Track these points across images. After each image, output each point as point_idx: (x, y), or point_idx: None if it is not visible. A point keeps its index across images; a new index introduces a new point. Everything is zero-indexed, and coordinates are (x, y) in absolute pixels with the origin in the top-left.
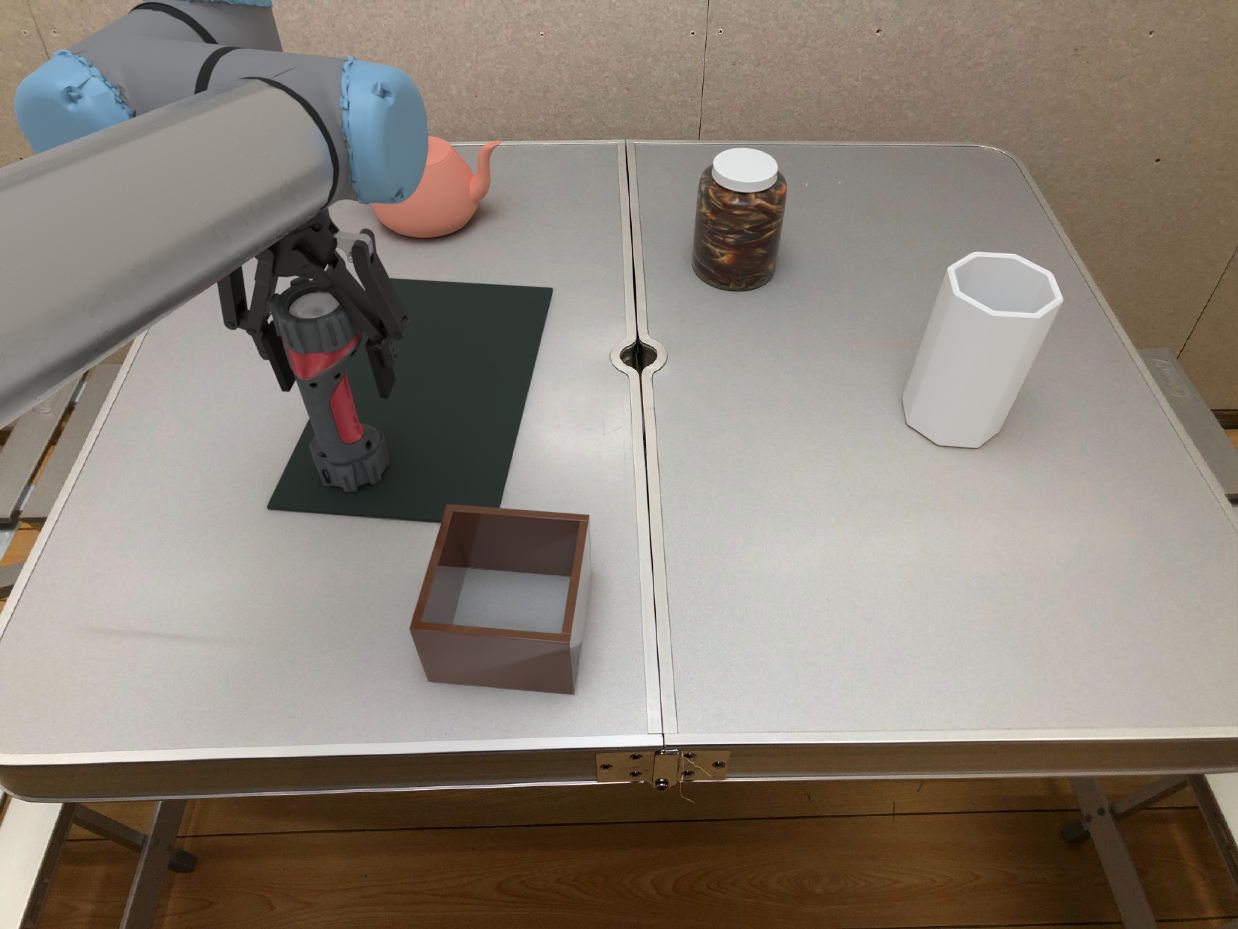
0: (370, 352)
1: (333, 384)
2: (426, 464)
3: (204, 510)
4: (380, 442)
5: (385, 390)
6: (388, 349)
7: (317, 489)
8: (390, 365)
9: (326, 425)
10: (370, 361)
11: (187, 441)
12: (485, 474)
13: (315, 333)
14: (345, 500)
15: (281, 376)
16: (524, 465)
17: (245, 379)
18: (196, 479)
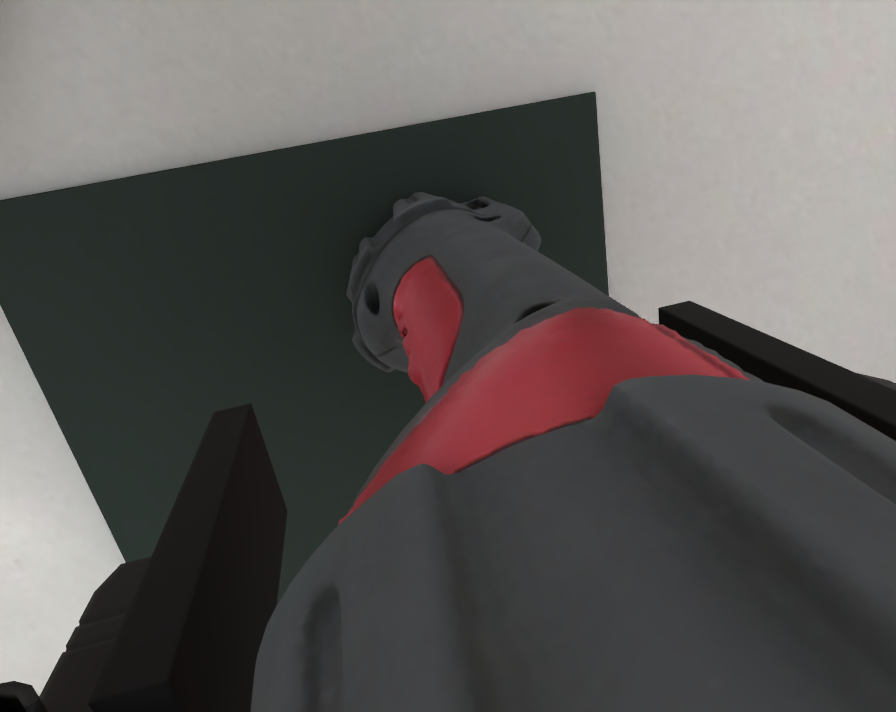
0: (154, 628)
1: (455, 371)
2: (268, 345)
3: (736, 47)
4: (358, 330)
5: (206, 436)
6: (44, 701)
7: (496, 183)
8: (124, 575)
9: (469, 249)
10: (196, 555)
11: (845, 239)
12: (94, 363)
13: (555, 694)
14: (409, 169)
15: (722, 333)
16: (23, 427)
17: None
18: (788, 137)
